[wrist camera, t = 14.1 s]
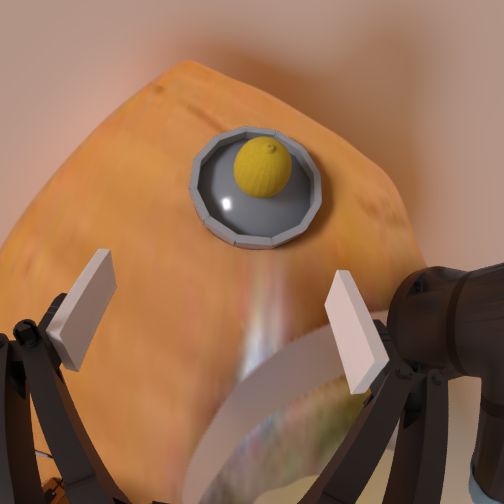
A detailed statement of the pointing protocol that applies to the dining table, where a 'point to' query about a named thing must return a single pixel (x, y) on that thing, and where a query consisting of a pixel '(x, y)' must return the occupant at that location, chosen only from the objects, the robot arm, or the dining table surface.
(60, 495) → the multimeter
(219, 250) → the dining table surface
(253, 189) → the lemon
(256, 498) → the dining table surface
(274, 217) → the grey round plate
